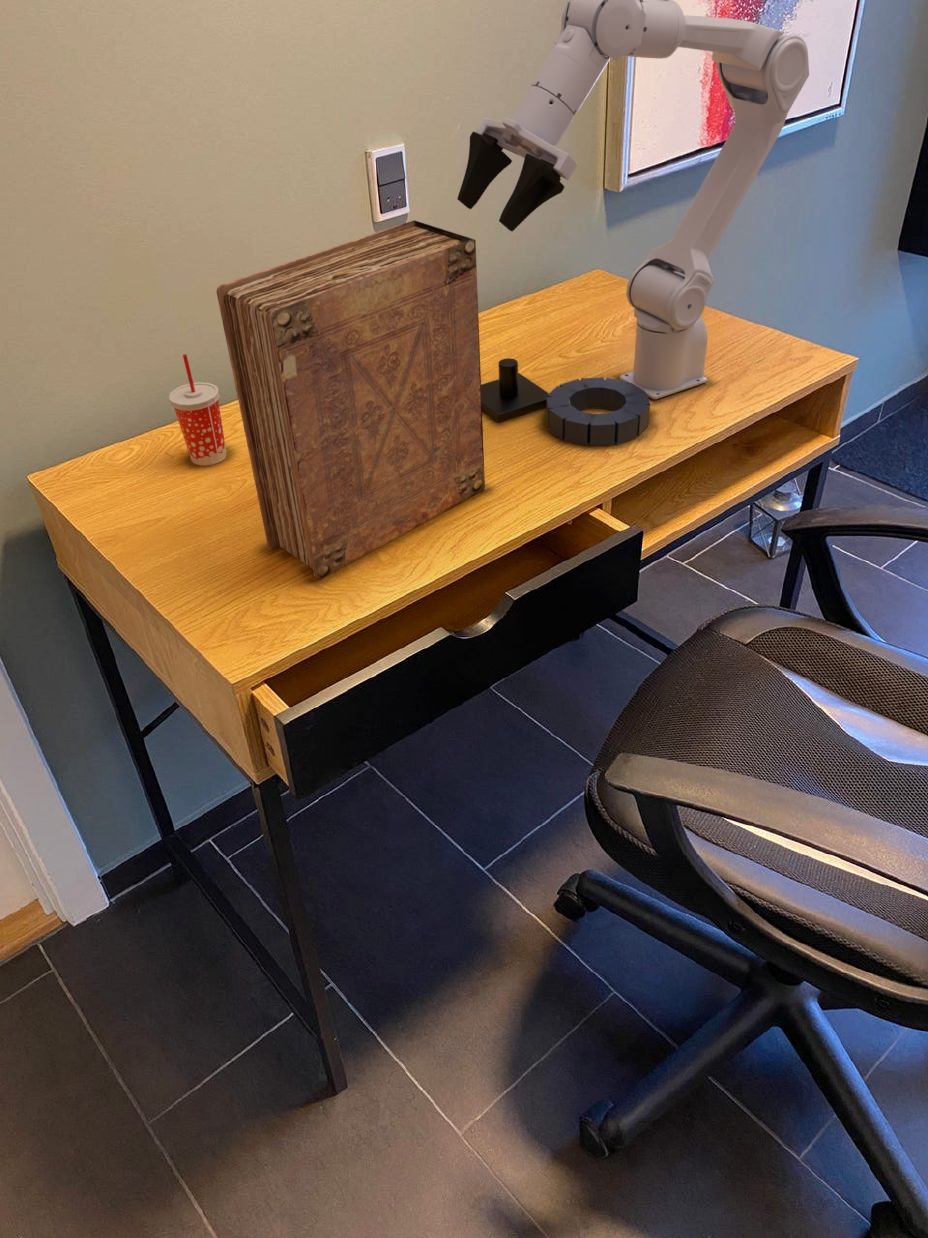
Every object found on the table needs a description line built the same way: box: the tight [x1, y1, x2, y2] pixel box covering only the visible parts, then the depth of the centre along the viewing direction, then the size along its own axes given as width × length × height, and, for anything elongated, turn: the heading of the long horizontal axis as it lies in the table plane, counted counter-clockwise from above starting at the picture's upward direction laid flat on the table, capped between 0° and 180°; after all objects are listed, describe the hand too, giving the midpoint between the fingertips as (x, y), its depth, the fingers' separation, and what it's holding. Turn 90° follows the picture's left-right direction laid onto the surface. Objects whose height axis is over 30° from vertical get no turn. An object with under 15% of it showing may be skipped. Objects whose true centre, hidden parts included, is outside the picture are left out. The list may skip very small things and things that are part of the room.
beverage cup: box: [168, 354, 228, 466], centre depth 125 cm, size 6×6×14 cm
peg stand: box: [481, 357, 550, 424], centre depth 136 cm, size 9×9×6 cm
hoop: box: [545, 376, 651, 447], centre depth 131 cm, size 13×13×3 cm
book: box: [215, 220, 486, 580], centre depth 107 cm, size 25×9×30 cm, turn 133°
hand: (484, 215), depth 111 cm, fingers open, 7 cm apart
